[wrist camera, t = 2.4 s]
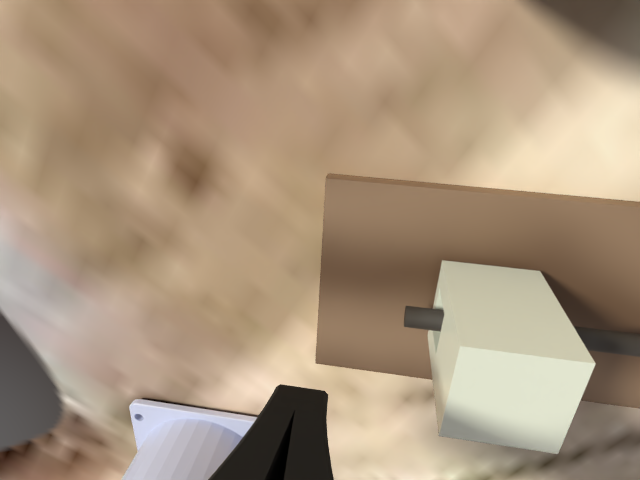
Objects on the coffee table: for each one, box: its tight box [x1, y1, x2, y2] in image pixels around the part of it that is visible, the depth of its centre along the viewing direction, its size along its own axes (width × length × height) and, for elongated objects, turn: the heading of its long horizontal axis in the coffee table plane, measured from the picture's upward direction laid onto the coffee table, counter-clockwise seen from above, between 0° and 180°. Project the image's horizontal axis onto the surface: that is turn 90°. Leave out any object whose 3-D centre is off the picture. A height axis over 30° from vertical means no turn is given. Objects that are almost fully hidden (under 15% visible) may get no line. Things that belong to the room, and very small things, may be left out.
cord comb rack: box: [316, 174, 640, 408], centre depth 15 cm, size 9×20×7 cm, turn 87°
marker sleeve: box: [428, 260, 596, 454], centre depth 15 cm, size 4×4×5 cm
